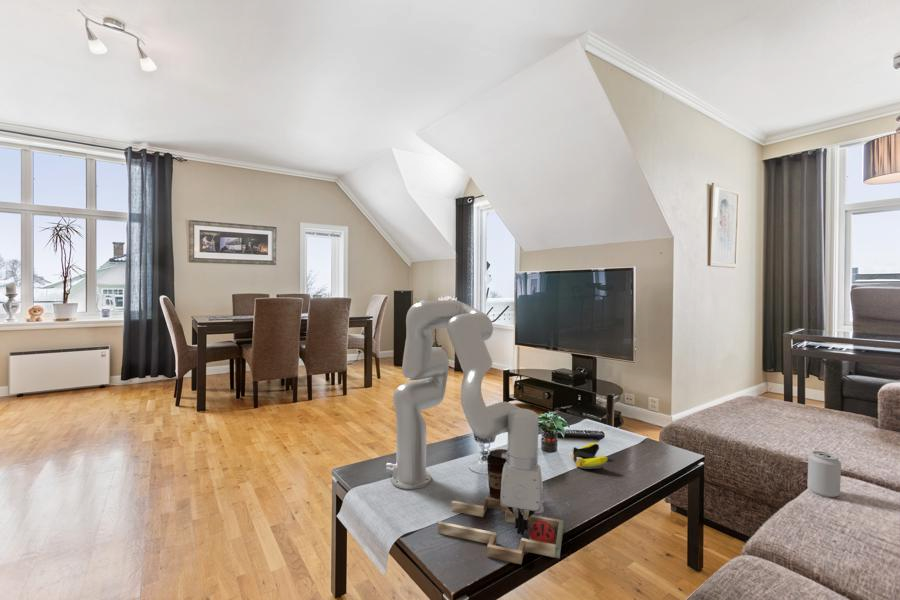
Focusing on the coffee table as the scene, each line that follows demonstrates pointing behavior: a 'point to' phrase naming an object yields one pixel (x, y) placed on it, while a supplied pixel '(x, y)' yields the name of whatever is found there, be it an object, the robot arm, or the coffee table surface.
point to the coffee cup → (495, 472)
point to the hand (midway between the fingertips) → (521, 531)
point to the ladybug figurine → (542, 532)
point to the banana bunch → (588, 457)
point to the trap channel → (491, 537)
